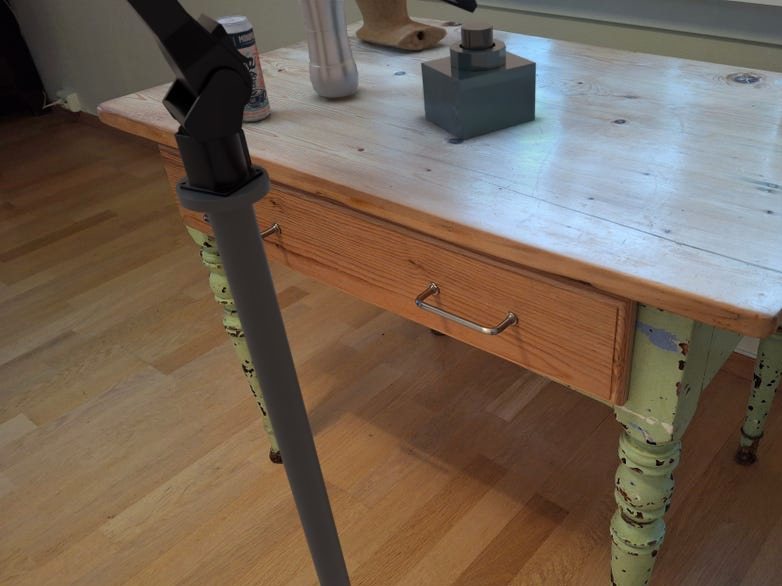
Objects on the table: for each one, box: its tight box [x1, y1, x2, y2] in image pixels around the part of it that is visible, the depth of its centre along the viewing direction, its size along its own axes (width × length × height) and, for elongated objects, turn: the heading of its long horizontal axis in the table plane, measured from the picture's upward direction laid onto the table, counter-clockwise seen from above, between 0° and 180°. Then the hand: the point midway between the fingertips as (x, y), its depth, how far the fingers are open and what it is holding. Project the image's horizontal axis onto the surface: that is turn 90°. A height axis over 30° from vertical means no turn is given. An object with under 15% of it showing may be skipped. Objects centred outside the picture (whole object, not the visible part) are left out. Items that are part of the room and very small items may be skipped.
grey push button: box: [460, 21, 494, 51], centre depth 84 cm, size 4×4×2 cm
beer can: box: [215, 14, 272, 123], centre depth 89 cm, size 5×5×12 cm
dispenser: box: [420, 38, 537, 141], centre depth 87 cm, size 11×9×9 cm
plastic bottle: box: [297, 0, 359, 98], centre depth 93 cm, size 6×7×20 cm
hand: (473, 8), depth 81 cm, fingers closed
